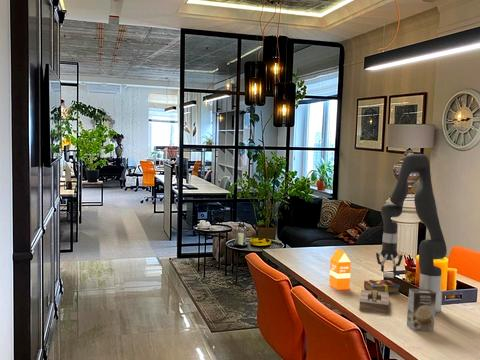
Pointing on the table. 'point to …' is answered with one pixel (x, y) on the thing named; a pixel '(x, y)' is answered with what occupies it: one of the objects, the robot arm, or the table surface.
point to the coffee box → (421, 310)
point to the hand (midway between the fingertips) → (388, 272)
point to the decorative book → (382, 286)
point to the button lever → (374, 296)
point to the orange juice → (340, 270)
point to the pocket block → (378, 306)
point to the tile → (388, 274)
